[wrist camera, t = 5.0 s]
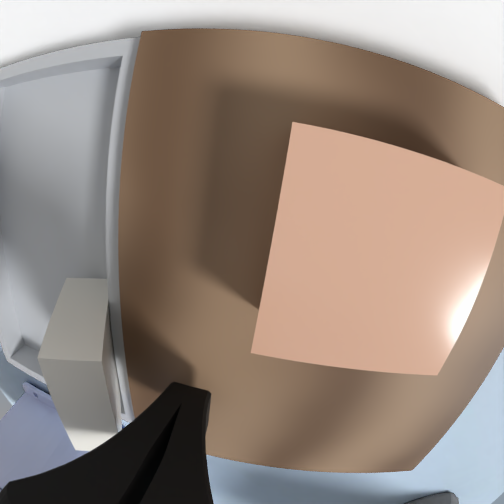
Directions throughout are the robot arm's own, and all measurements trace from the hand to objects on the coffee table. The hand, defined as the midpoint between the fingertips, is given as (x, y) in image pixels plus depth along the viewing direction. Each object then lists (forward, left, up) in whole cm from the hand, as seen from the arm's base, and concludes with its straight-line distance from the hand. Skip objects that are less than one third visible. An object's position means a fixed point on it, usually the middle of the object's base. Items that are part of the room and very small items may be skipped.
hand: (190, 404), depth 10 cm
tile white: (-3, 0, -1) cm, 3 cm away
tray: (-8, +4, -3) cm, 9 cm away
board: (+4, +4, -3) cm, 6 cm away
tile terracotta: (+4, +7, -1) cm, 8 cm away
